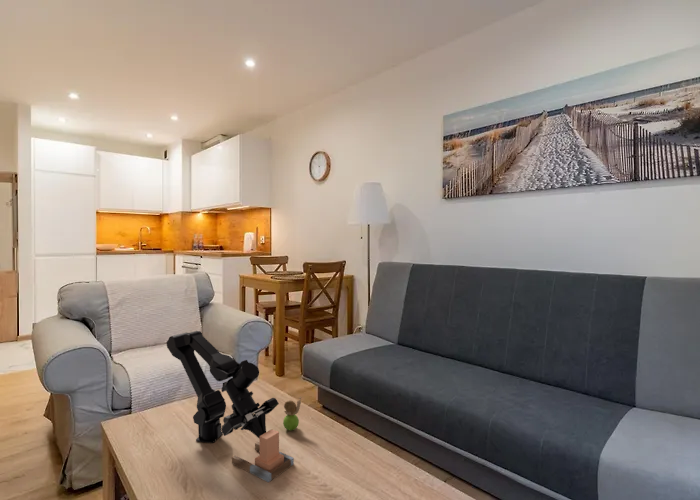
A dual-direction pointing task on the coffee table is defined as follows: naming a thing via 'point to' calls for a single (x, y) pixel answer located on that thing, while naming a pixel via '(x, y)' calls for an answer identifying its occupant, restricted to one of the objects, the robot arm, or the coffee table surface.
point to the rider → (269, 451)
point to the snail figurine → (291, 414)
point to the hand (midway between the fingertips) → (265, 440)
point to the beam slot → (259, 471)
